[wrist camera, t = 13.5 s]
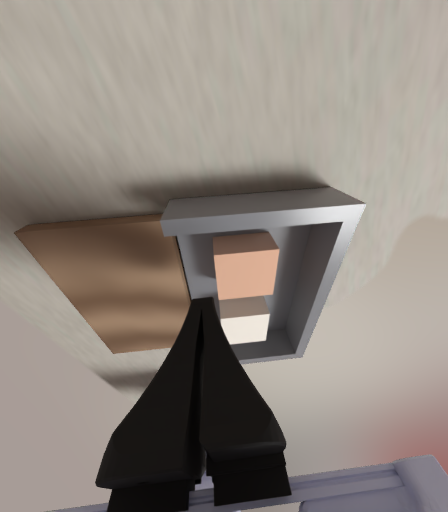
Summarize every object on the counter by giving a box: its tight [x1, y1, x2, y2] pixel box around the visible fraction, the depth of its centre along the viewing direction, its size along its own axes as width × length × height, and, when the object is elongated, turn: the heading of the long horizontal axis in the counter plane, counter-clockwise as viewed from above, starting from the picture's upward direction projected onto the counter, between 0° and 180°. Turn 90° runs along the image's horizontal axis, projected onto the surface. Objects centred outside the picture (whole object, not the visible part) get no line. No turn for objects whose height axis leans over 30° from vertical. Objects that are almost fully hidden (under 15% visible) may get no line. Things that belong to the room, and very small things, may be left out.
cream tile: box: [219, 296, 270, 344], centre depth 19 cm, size 4×4×2 cm
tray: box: [160, 187, 366, 364], centre depth 17 cm, size 18×12×4 cm, turn 3°
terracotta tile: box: [213, 232, 280, 300], centre depth 15 cm, size 4×4×2 cm
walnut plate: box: [14, 214, 191, 354], centre depth 17 cm, size 16×10×1 cm, turn 3°
